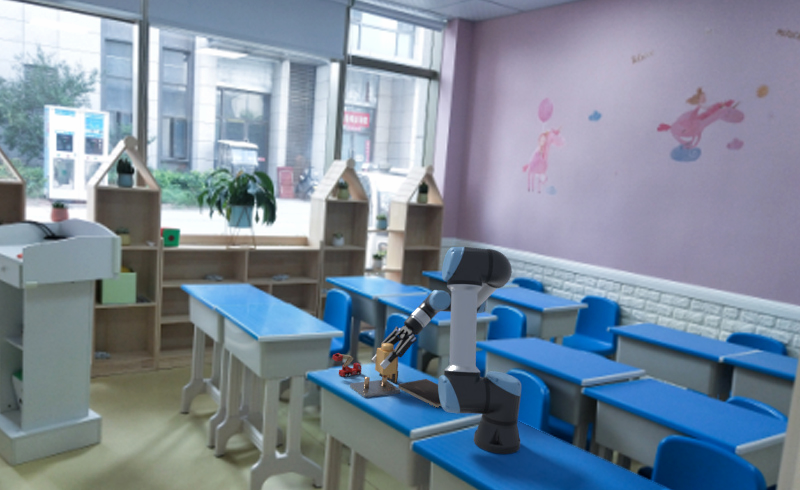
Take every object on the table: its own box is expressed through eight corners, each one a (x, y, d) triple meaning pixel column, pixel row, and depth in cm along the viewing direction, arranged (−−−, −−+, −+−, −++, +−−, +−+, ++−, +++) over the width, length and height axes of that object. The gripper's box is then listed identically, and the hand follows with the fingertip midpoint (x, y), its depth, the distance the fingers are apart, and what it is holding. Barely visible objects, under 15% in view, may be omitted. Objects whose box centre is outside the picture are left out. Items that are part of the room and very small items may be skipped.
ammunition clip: (397, 383, 252) (400, 354, 251) (393, 383, 251) (396, 355, 249) (382, 374, 260) (385, 347, 259) (379, 375, 259) (381, 347, 258)
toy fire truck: (362, 374, 258) (364, 352, 257) (335, 378, 250) (337, 356, 248) (357, 372, 261) (359, 350, 260) (330, 376, 252) (332, 353, 251)
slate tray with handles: (399, 393, 240) (401, 379, 239) (364, 397, 232) (365, 383, 231) (384, 383, 250) (386, 370, 249) (349, 386, 242) (351, 373, 241)
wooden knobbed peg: (395, 373, 242) (398, 346, 240) (382, 374, 238) (385, 347, 237) (387, 368, 247) (390, 342, 245) (374, 369, 244) (377, 343, 242)
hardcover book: (435, 409, 228) (436, 403, 228) (397, 389, 246) (397, 383, 245) (465, 402, 238) (466, 397, 238) (426, 383, 256) (427, 378, 256)
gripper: (434, 334, 241) (395, 378, 234) (409, 322, 257) (371, 362, 250) (425, 321, 237) (384, 366, 231) (399, 310, 253) (361, 351, 247)
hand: (378, 364), depth 240 cm, fingers closed on wooden knobbed peg, 6 cm apart
